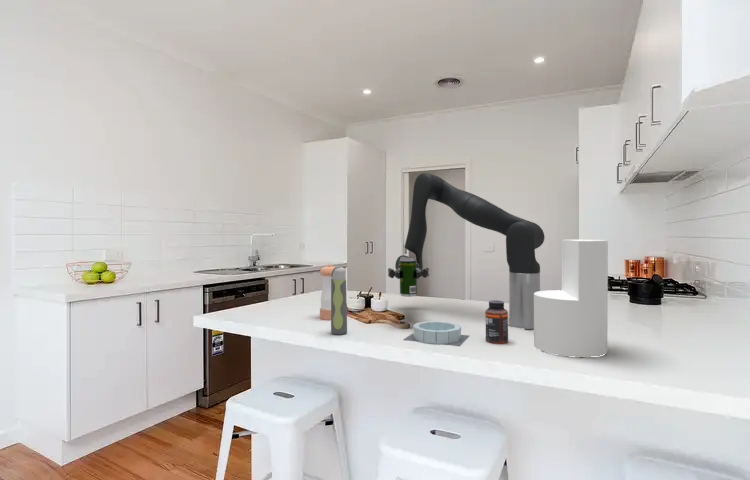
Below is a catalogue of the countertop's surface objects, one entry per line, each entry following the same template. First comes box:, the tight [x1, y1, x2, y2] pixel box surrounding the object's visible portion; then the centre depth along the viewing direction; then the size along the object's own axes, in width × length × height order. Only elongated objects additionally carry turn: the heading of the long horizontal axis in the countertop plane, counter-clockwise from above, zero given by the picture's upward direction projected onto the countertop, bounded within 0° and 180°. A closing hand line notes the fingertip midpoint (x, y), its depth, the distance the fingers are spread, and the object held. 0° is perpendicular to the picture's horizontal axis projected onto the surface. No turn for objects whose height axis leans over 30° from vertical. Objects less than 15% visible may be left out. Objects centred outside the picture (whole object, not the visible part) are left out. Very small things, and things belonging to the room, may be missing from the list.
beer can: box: [399, 256, 418, 298], centre depth 131 cm, size 5×5×12 cm
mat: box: [402, 333, 470, 347], centre depth 118 cm, size 16×12×1 cm
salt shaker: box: [319, 263, 336, 321], centre depth 148 cm, size 7×7×19 cm
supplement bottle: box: [484, 299, 509, 345], centre depth 114 cm, size 6×6×11 cm
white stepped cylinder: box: [533, 239, 609, 357], centre depth 108 cm, size 17×17×28 cm
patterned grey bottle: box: [330, 266, 348, 336], centre depth 126 cm, size 5×5×20 cm
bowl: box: [412, 320, 462, 345], centre depth 118 cm, size 13×13×3 cm
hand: (408, 275), depth 129 cm, fingers closed on beer can, 5 cm apart
